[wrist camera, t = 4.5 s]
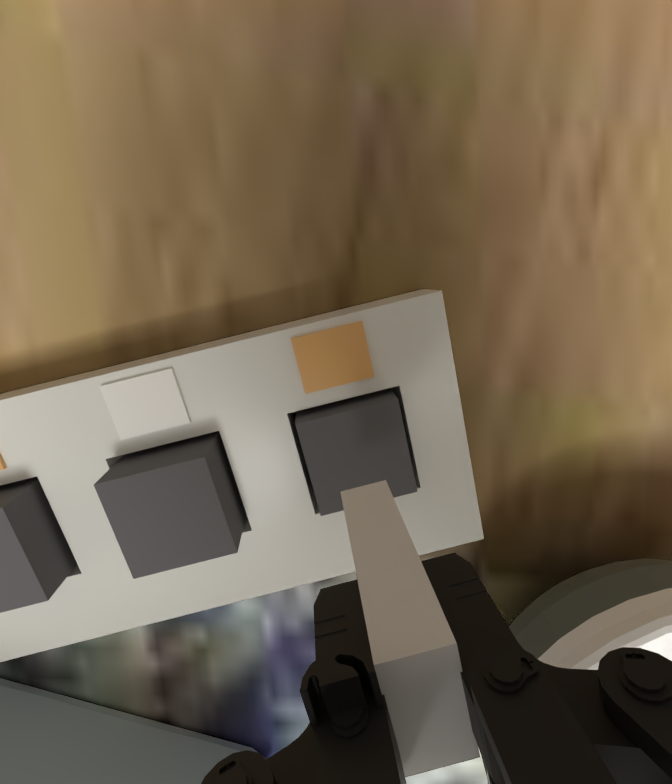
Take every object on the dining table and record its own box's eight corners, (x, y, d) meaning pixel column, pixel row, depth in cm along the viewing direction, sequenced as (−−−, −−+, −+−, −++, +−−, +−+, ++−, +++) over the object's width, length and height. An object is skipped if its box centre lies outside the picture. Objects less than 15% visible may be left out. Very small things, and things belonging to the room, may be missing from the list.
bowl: (706, 452, 24) (902, 536, 16) (746, 694, 29) (913, 849, 21) (392, 572, 25) (435, 711, 17) (483, 791, 30) (549, 979, 22)
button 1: (318, 483, 22) (320, 516, 19) (296, 403, 21) (295, 424, 18) (401, 462, 22) (417, 491, 19) (384, 381, 21) (398, 398, 18)
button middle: (158, 535, 21) (133, 578, 18) (125, 452, 20) (93, 484, 17) (246, 512, 21) (237, 552, 18) (219, 429, 20) (204, 456, 17)
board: (-2, 625, 24) (-48, 677, 21) (-112, 421, 21) (-185, 446, 18) (462, 507, 24) (485, 541, 21) (422, 289, 21) (443, 290, 18)
